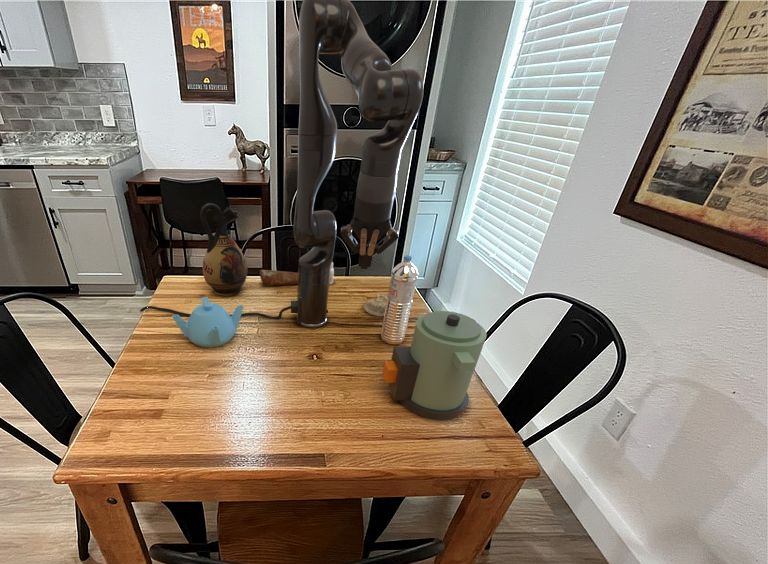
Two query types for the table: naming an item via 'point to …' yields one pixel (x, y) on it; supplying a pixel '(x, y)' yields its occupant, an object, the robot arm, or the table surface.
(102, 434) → the table surface
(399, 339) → the water bottle
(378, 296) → the cake
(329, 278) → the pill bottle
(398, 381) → the kettle
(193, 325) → the teapot
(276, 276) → the bread
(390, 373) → the switch
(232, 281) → the ceramic jug
